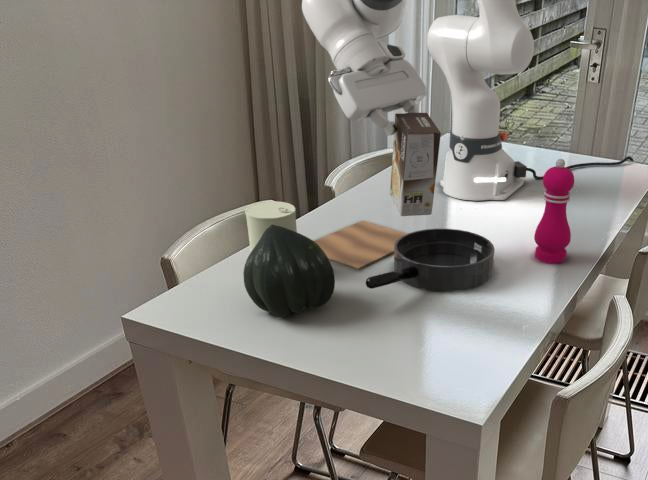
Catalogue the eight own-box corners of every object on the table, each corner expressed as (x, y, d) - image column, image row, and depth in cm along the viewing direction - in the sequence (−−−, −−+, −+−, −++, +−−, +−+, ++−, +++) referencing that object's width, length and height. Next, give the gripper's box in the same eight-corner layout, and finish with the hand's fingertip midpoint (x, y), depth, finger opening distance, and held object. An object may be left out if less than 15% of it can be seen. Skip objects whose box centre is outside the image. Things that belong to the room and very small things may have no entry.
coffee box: (433, 215, 144) (442, 133, 134) (400, 217, 143) (407, 134, 132) (419, 191, 151) (427, 111, 140) (387, 193, 149) (393, 112, 138)
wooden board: (362, 222, 169) (362, 220, 169) (420, 239, 162) (420, 237, 162) (298, 249, 155) (298, 247, 155) (358, 270, 148) (358, 268, 148)
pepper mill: (547, 248, 160) (557, 151, 149) (575, 258, 156) (588, 159, 145) (525, 256, 156) (533, 158, 145) (552, 267, 152) (564, 166, 141)
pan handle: (412, 273, 142) (412, 253, 140) (421, 276, 141) (421, 255, 139) (363, 299, 132) (363, 277, 130) (372, 302, 131) (372, 280, 129)
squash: (345, 295, 126) (325, 209, 127) (253, 311, 121) (233, 222, 123) (335, 318, 139) (317, 240, 141) (252, 333, 135) (234, 252, 137)
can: (290, 279, 143) (284, 217, 137) (243, 274, 145) (236, 212, 138) (307, 260, 151) (303, 201, 144) (263, 255, 152) (256, 196, 146)
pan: (432, 244, 160) (433, 221, 157) (511, 268, 151) (513, 244, 148) (374, 273, 147) (373, 249, 144) (456, 301, 138) (457, 276, 135)
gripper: (332, 60, 129) (379, 130, 130) (407, 46, 144) (448, 108, 144) (315, 84, 134) (359, 151, 135) (388, 68, 148) (428, 129, 149)
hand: (406, 129), depth 140 cm, fingers closed on coffee box, 6 cm apart
